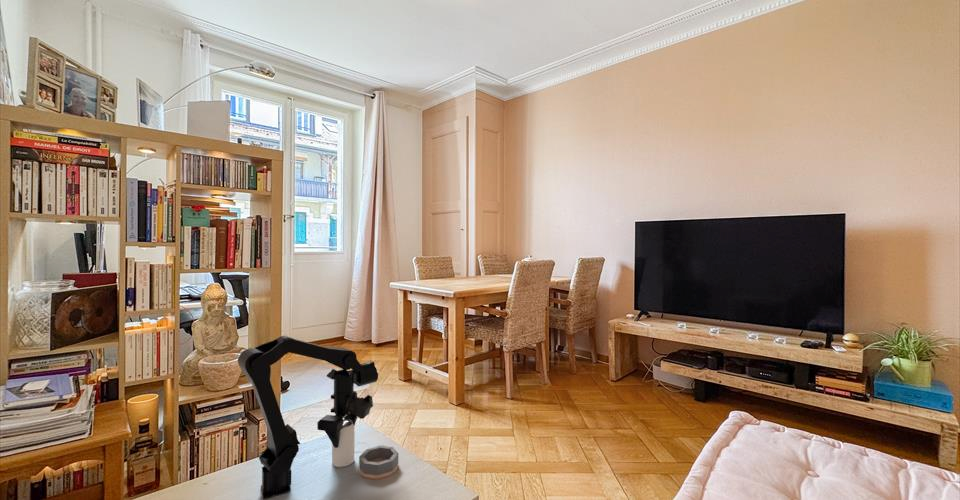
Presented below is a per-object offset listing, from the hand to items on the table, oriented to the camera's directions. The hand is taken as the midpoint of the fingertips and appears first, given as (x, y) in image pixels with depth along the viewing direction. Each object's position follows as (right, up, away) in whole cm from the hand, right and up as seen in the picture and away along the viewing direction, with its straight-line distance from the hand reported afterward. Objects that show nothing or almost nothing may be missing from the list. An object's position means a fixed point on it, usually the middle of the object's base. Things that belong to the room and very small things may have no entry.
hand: (343, 441), depth 122 cm
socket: (+12, -7, -3) cm, 14 cm away
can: (0, -7, 0) cm, 7 cm away
